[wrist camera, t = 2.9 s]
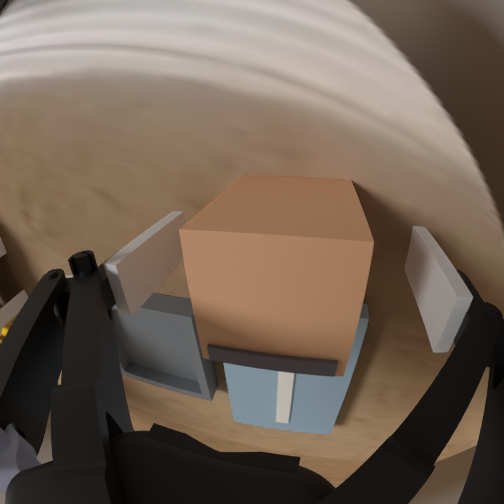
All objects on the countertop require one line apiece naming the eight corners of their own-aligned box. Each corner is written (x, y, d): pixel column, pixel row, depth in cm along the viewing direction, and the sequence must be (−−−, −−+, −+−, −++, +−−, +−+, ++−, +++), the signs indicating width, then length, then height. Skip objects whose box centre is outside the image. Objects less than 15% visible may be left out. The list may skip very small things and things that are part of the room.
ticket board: (221, 290, 20) (213, 305, 18) (367, 303, 18) (369, 320, 16) (238, 409, 27) (233, 423, 26) (331, 421, 25) (329, 435, 23)
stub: (244, 175, 16) (176, 231, 9) (351, 179, 15) (375, 245, 7) (248, 267, 19) (201, 361, 12) (341, 275, 17) (343, 380, 10)
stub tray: (98, 282, 23) (85, 294, 22) (201, 300, 21) (191, 317, 19) (130, 361, 28) (121, 373, 26) (218, 385, 26) (211, 400, 24)
